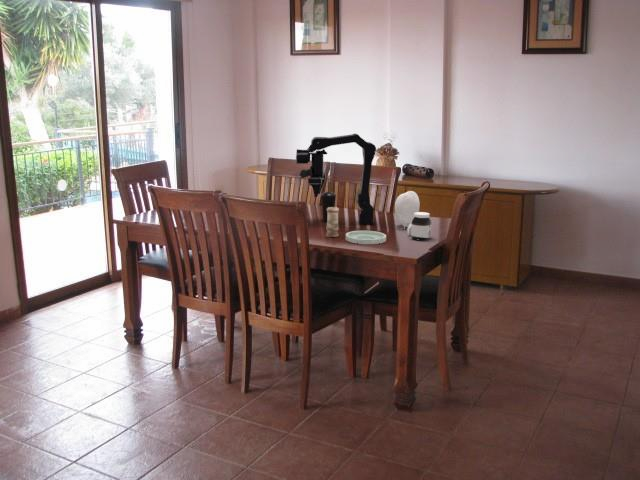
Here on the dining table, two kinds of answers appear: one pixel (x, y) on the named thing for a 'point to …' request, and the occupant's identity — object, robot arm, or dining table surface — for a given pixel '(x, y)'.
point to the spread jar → (420, 226)
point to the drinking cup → (327, 201)
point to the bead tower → (332, 222)
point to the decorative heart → (406, 207)
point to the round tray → (365, 237)
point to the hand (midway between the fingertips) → (317, 195)
